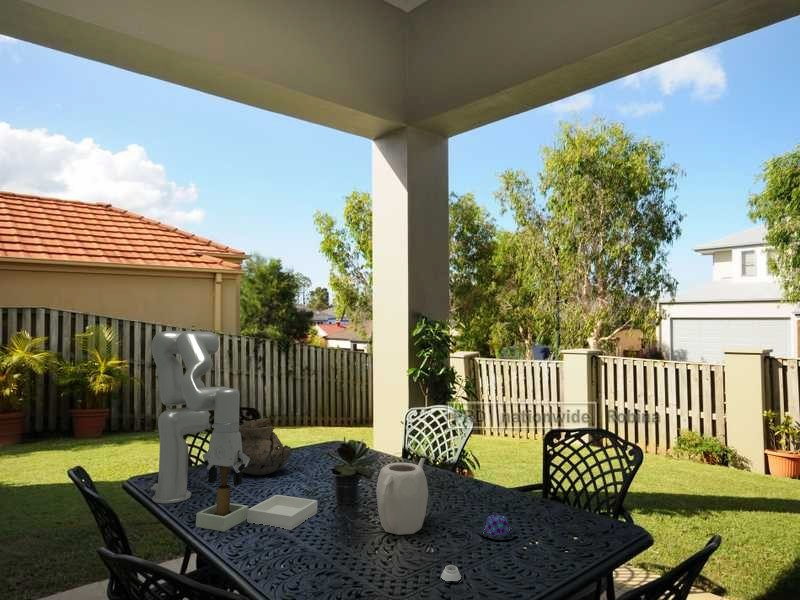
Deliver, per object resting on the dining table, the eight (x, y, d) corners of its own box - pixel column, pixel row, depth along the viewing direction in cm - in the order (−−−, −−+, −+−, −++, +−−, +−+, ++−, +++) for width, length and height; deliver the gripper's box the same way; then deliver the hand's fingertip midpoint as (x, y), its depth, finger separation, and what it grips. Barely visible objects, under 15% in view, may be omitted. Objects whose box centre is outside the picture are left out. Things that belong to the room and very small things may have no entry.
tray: (247, 522, 158) (247, 509, 158) (276, 506, 173) (276, 494, 173) (291, 529, 152) (291, 516, 153) (317, 512, 167) (317, 500, 168)
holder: (195, 526, 154) (196, 513, 154) (221, 514, 165) (221, 501, 165) (223, 531, 150) (224, 517, 150) (247, 518, 161) (248, 505, 161)
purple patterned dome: (483, 543, 145) (483, 525, 146) (472, 528, 157) (472, 510, 157) (523, 542, 147) (523, 523, 147) (509, 526, 159) (509, 509, 159)
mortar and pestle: (226, 527, 153) (228, 467, 155) (207, 525, 155) (209, 466, 156) (237, 519, 160) (239, 462, 161) (218, 518, 161) (221, 461, 163)
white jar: (459, 586, 120) (462, 577, 125) (460, 574, 120) (462, 564, 125) (439, 583, 121) (442, 574, 126) (439, 571, 121) (442, 562, 126)
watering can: (444, 519, 163) (445, 460, 165) (404, 548, 140) (405, 479, 142) (403, 510, 171) (403, 453, 172) (358, 536, 148) (359, 471, 150)
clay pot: (221, 471, 215) (223, 420, 217) (271, 462, 231) (272, 415, 233) (247, 485, 197) (249, 429, 198) (300, 474, 213) (301, 423, 214)
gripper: (196, 428, 159) (194, 484, 157) (241, 431, 153) (240, 489, 151) (212, 424, 166) (211, 478, 164) (256, 427, 160) (255, 482, 158)
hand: (225, 483), depth 158 cm, fingers open, 9 cm apart
